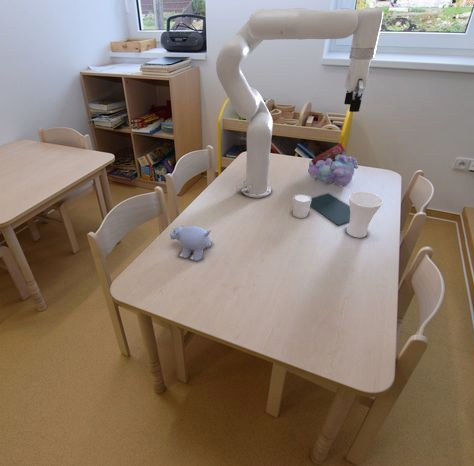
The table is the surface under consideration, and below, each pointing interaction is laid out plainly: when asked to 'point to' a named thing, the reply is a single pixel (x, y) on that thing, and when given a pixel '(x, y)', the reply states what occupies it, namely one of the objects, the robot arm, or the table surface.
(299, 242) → the table surface
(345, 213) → the mat
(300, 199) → the shot glass
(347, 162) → the pastel bubbly cloud
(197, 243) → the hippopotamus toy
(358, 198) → the cup
